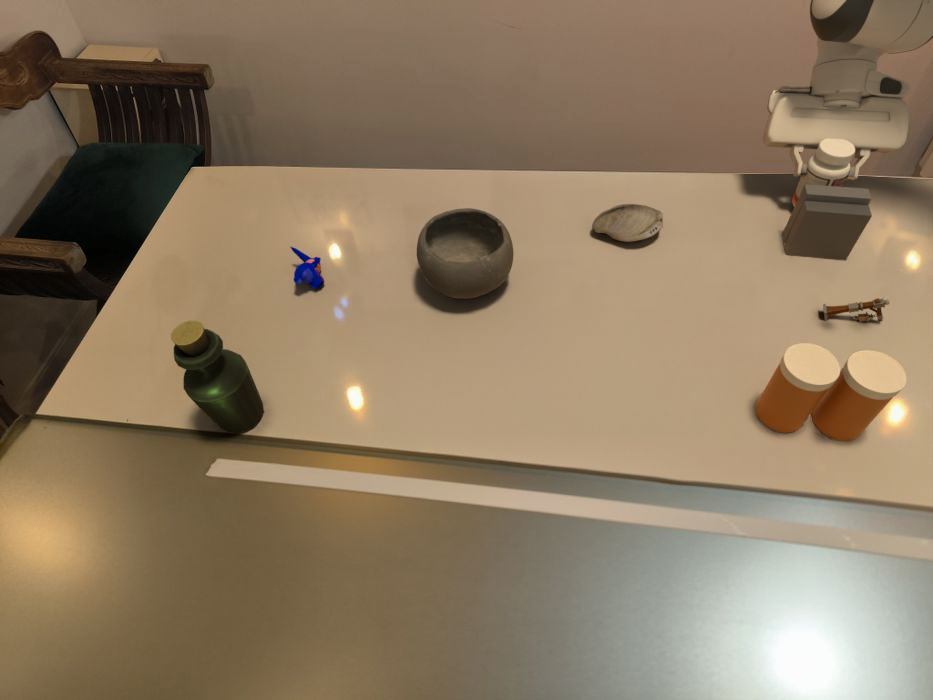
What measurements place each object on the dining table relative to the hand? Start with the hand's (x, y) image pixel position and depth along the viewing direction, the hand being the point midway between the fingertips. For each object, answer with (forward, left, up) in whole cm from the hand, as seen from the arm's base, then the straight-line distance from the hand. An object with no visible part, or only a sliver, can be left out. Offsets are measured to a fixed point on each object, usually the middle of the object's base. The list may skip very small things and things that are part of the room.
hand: (825, 177), depth 98 cm
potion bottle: (+96, -19, -7) cm, 98 cm away
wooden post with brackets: (+15, +18, -7) cm, 25 cm away
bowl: (+56, -22, -7) cm, 60 cm away
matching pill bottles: (+33, +26, -7) cm, 43 cm away
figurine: (+77, -38, -7) cm, 86 cm away
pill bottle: (0, 0, -6) cm, 6 cm away
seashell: (+28, -15, -7) cm, 32 cm away
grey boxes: (+6, +6, -7) cm, 11 cm away
